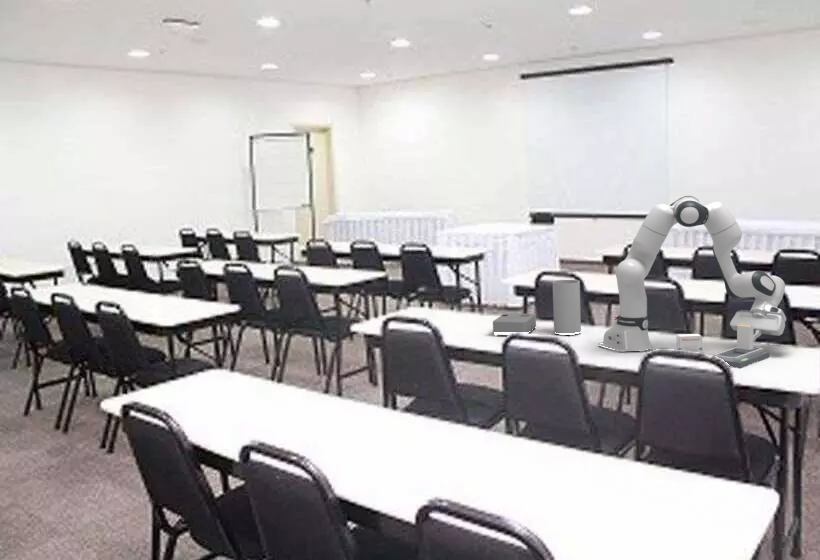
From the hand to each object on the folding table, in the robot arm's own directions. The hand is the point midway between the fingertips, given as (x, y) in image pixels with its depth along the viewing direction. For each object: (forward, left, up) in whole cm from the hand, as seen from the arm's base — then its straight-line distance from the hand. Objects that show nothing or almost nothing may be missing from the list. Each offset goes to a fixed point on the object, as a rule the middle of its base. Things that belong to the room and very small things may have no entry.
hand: (750, 340), depth 292 cm
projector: (-106, -23, -7) cm, 108 cm away
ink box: (-10, -27, -6) cm, 30 cm away
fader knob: (0, -4, -4) cm, 6 cm away
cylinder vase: (-84, -10, -6) cm, 85 cm away
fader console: (0, -9, -6) cm, 11 cm away
